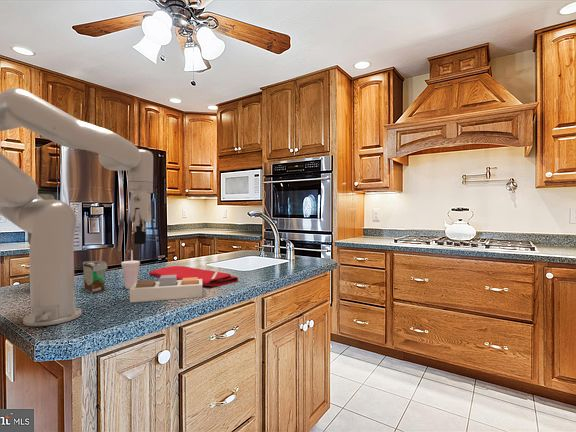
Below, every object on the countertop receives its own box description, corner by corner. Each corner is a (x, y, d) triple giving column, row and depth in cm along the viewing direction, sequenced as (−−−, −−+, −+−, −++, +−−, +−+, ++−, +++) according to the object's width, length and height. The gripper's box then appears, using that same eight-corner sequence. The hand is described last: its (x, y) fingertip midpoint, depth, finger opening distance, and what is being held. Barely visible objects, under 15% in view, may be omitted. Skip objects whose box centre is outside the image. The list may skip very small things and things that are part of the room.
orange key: (197, 289, 109) (197, 280, 109) (182, 290, 108) (182, 281, 108) (197, 286, 114) (197, 277, 114) (182, 287, 112) (182, 278, 112)
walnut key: (153, 292, 105) (152, 282, 105) (136, 293, 104) (136, 283, 104) (155, 289, 110) (155, 279, 110) (139, 290, 109) (139, 280, 109)
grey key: (175, 287, 107) (175, 277, 107) (159, 288, 106) (159, 278, 106) (176, 283, 112) (176, 274, 112) (161, 284, 111) (161, 275, 110)
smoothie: (132, 290, 117) (132, 251, 116) (117, 289, 118) (116, 251, 118) (144, 286, 123) (143, 249, 123) (129, 285, 124) (128, 249, 124)
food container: (113, 291, 116) (112, 263, 115) (93, 294, 111) (93, 265, 111) (101, 285, 124) (101, 259, 124) (83, 288, 119) (82, 261, 119)
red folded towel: (179, 271, 156) (179, 263, 155) (239, 282, 130) (239, 273, 130) (148, 276, 143) (148, 268, 143) (207, 290, 118) (207, 280, 118)
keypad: (202, 297, 107) (202, 285, 107) (129, 302, 101) (129, 289, 101) (202, 289, 117) (202, 278, 117) (135, 294, 111) (135, 282, 111)
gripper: (149, 186, 100) (148, 245, 100) (156, 190, 114) (155, 242, 114) (122, 185, 98) (121, 246, 98) (133, 189, 113) (132, 242, 113)
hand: (140, 243), depth 106 cm, fingers closed
